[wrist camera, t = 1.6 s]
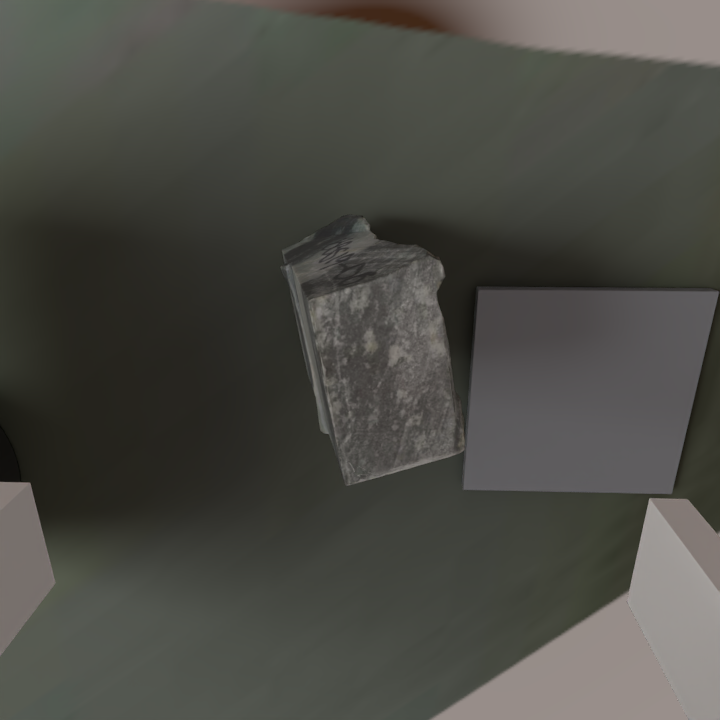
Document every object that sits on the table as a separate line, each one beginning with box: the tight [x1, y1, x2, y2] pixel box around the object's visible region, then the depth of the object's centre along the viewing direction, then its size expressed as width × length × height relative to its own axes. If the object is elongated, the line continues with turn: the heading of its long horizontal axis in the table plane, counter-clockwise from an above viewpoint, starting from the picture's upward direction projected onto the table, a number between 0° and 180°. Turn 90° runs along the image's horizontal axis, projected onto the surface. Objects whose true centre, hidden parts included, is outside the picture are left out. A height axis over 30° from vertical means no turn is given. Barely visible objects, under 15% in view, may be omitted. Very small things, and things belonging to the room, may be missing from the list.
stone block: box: [280, 215, 465, 486], centre depth 27 cm, size 9×14×5 cm
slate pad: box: [462, 287, 719, 494], centre depth 36 cm, size 14×14×1 cm
